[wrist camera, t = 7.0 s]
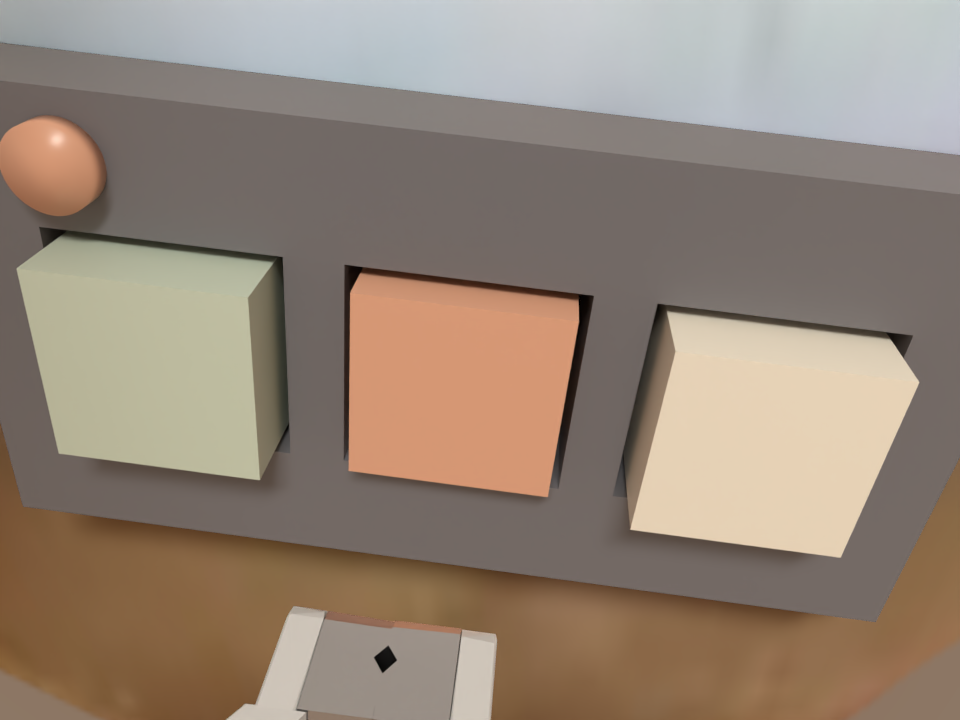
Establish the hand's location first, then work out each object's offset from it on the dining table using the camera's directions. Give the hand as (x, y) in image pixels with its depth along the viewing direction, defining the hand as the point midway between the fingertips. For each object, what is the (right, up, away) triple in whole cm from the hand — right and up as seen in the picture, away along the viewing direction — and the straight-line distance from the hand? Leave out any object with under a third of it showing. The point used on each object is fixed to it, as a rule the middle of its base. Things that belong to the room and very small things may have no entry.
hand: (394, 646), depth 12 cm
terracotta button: (+1, +5, +10) cm, 11 cm away
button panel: (+1, +5, +10) cm, 12 cm away
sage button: (-6, +5, +9) cm, 12 cm away
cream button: (+8, +3, +9) cm, 12 cm away
